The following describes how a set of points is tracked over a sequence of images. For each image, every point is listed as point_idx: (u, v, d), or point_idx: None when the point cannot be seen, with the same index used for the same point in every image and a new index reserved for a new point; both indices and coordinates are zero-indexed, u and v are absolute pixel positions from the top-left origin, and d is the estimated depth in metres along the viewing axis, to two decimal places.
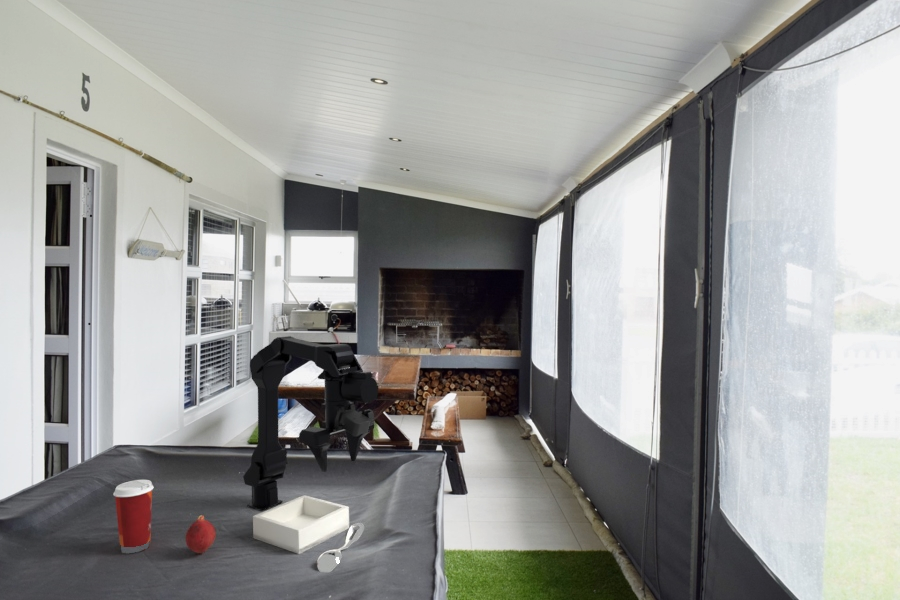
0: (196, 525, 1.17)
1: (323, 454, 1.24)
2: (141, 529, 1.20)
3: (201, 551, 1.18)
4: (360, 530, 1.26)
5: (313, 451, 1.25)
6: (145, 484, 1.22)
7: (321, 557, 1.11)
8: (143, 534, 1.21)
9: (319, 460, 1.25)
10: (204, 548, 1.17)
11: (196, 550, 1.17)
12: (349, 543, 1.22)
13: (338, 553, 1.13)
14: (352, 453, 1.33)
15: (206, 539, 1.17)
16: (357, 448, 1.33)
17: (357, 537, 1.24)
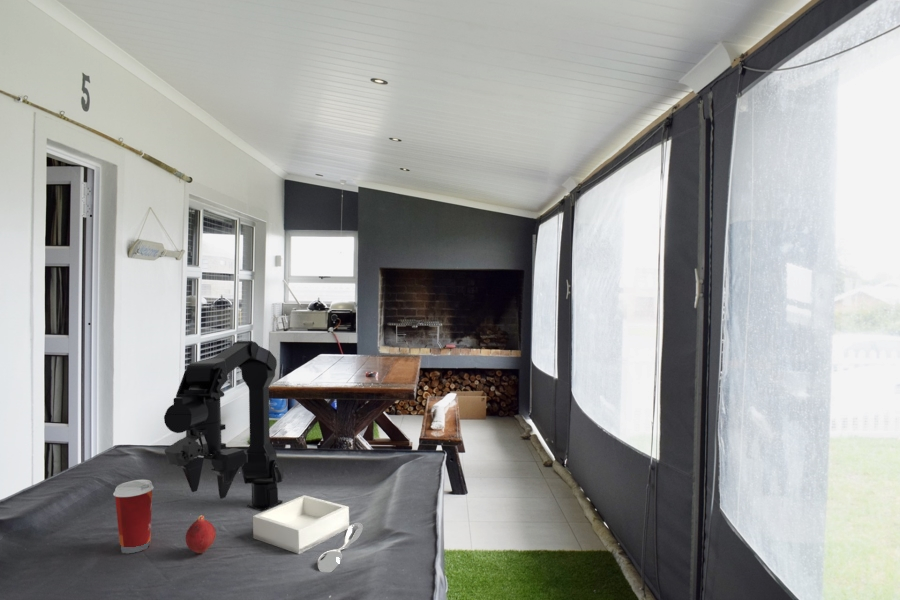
0: (196, 525, 1.17)
1: (184, 472, 1.21)
2: (141, 529, 1.20)
3: (201, 551, 1.18)
4: (359, 530, 1.26)
5: None
6: (145, 484, 1.22)
7: (322, 557, 1.11)
8: (143, 534, 1.21)
9: None
10: (204, 548, 1.17)
11: (196, 550, 1.17)
12: (348, 543, 1.22)
13: (338, 553, 1.13)
14: None
15: (206, 539, 1.17)
16: (219, 485, 1.16)
17: (356, 537, 1.24)
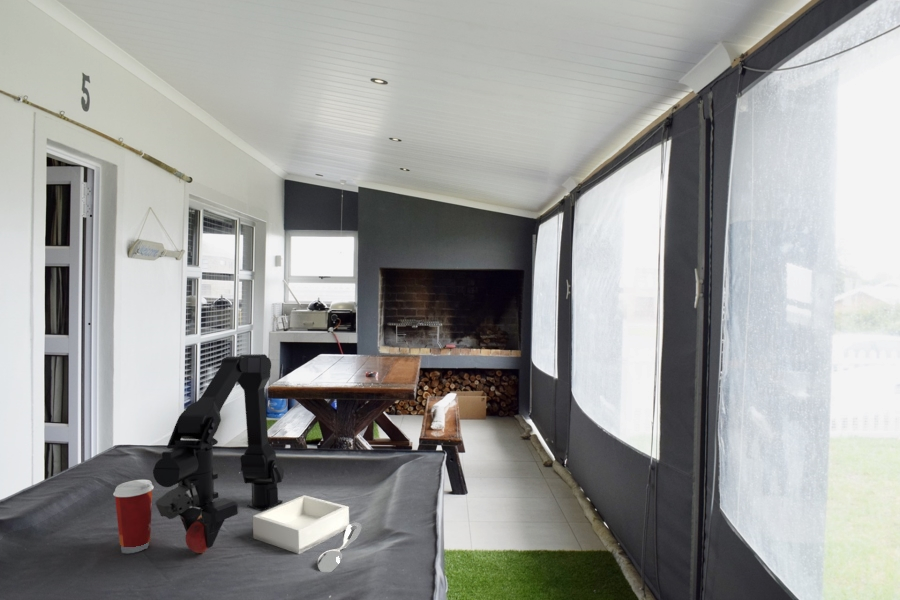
0: (196, 525, 1.17)
1: (182, 521, 1.20)
2: (141, 529, 1.20)
3: (201, 551, 1.18)
4: (358, 530, 1.27)
5: None
6: (145, 484, 1.22)
7: (322, 557, 1.12)
8: (143, 534, 1.21)
9: None
10: (204, 548, 1.17)
11: (196, 550, 1.17)
12: (347, 543, 1.22)
13: (338, 553, 1.13)
14: None
15: None
16: (205, 535, 1.16)
17: (355, 537, 1.24)
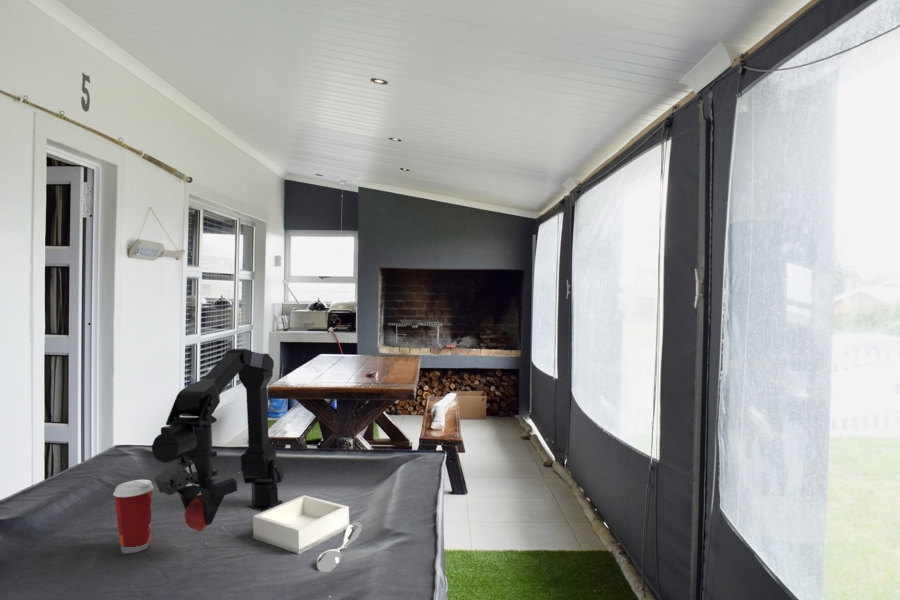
0: (195, 502, 1.17)
1: (181, 499, 1.20)
2: (141, 529, 1.20)
3: (200, 528, 1.17)
4: (358, 530, 1.27)
5: None
6: (145, 484, 1.22)
7: (321, 557, 1.12)
8: (143, 534, 1.21)
9: None
10: (203, 525, 1.17)
11: (195, 527, 1.17)
12: (347, 543, 1.22)
13: (338, 553, 1.13)
14: None
15: None
16: (204, 512, 1.16)
17: (355, 537, 1.24)
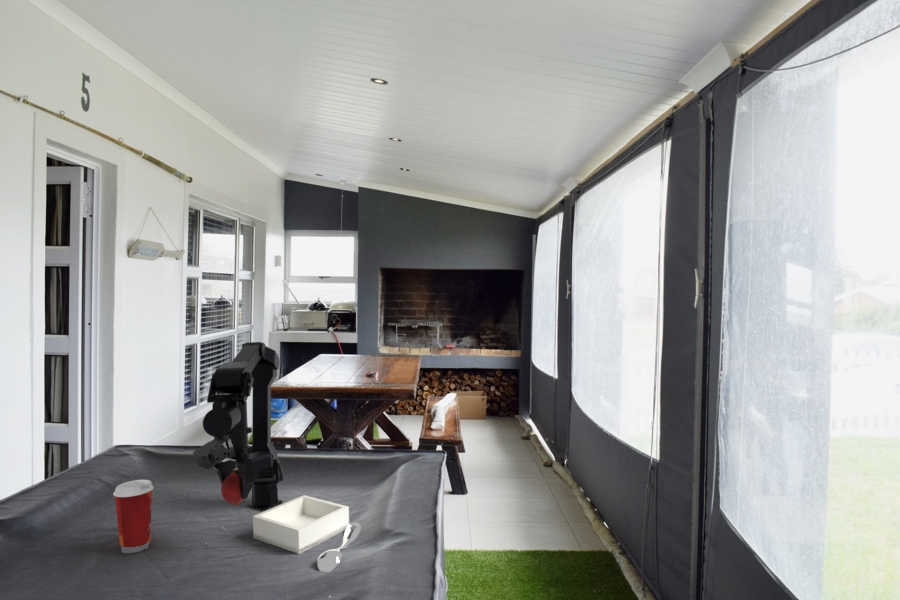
0: (231, 477, 1.21)
1: (218, 474, 1.23)
2: (141, 529, 1.20)
3: (236, 502, 1.21)
4: (357, 529, 1.27)
5: None
6: (145, 484, 1.22)
7: (321, 557, 1.12)
8: (143, 534, 1.21)
9: None
10: (239, 499, 1.20)
11: (231, 501, 1.20)
12: (347, 542, 1.22)
13: (338, 552, 1.13)
14: None
15: None
16: (240, 486, 1.19)
17: (354, 536, 1.25)
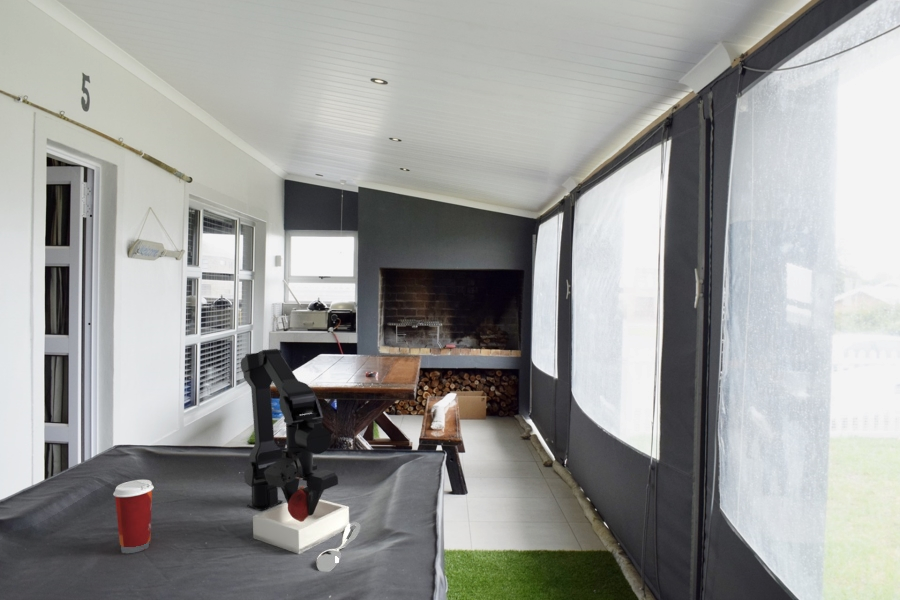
0: (298, 494, 1.26)
1: (283, 491, 1.29)
2: (141, 529, 1.20)
3: (302, 519, 1.27)
4: (356, 529, 1.27)
5: None
6: (145, 484, 1.22)
7: (321, 556, 1.12)
8: (143, 534, 1.21)
9: None
10: (305, 516, 1.26)
11: (298, 518, 1.26)
12: (346, 542, 1.22)
13: (337, 552, 1.13)
14: None
15: None
16: (307, 503, 1.25)
17: (354, 536, 1.25)
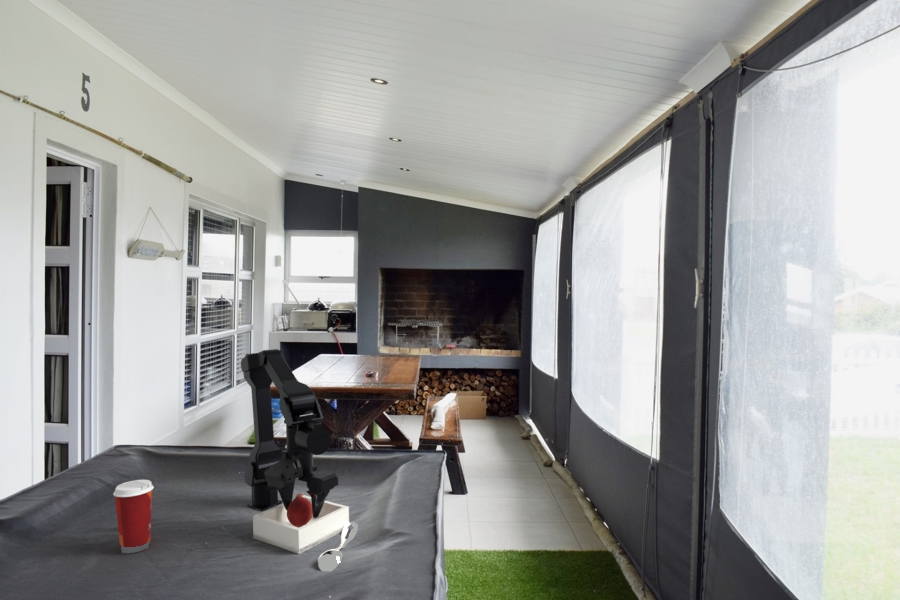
0: (296, 501, 1.26)
1: (279, 491, 1.30)
2: (141, 529, 1.20)
3: (302, 525, 1.26)
4: (354, 529, 1.27)
5: None
6: (145, 484, 1.22)
7: (322, 557, 1.12)
8: (143, 534, 1.21)
9: None
10: (305, 522, 1.26)
11: (298, 524, 1.26)
12: (345, 542, 1.22)
13: (338, 552, 1.13)
14: None
15: (307, 514, 1.26)
16: (312, 505, 1.24)
17: (352, 536, 1.25)
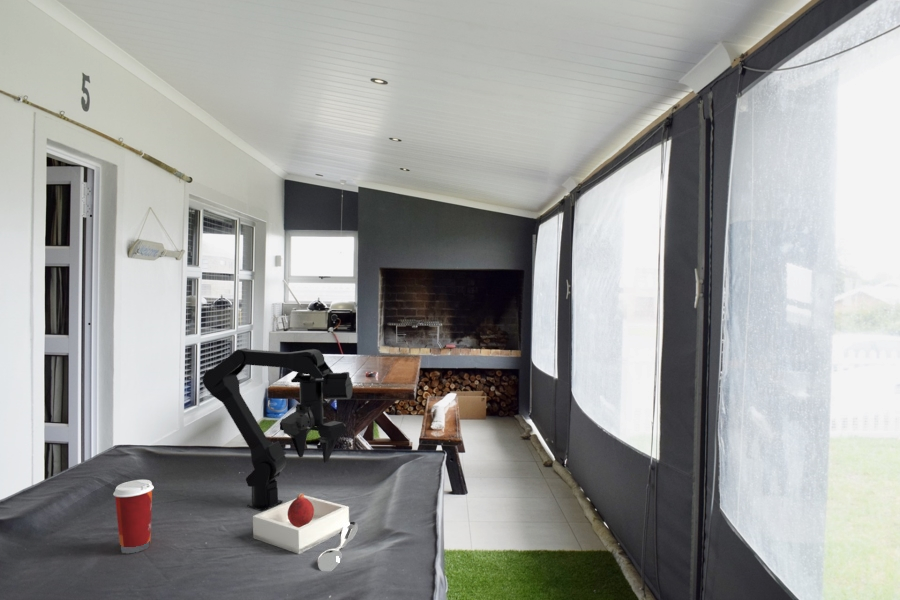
0: (298, 502, 1.26)
1: (293, 440, 1.46)
2: (141, 529, 1.20)
3: None
4: (354, 529, 1.27)
5: None
6: (145, 484, 1.22)
7: (322, 556, 1.12)
8: (143, 534, 1.21)
9: None
10: (305, 523, 1.26)
11: (298, 525, 1.26)
12: (345, 542, 1.22)
13: (338, 552, 1.13)
14: None
15: (308, 515, 1.26)
16: (323, 451, 1.40)
17: (352, 536, 1.25)
